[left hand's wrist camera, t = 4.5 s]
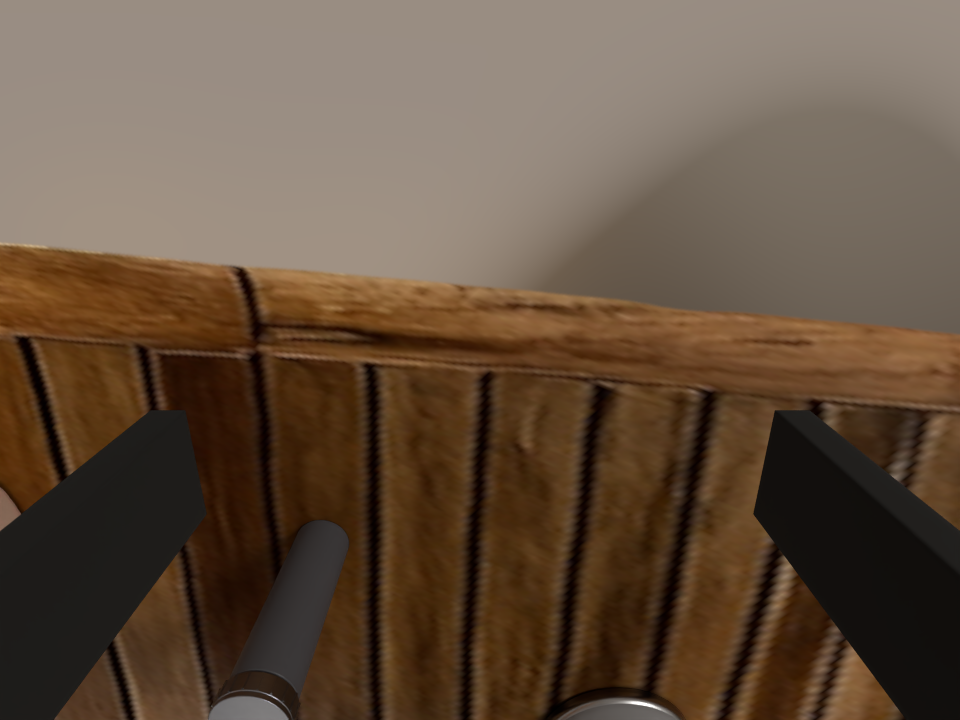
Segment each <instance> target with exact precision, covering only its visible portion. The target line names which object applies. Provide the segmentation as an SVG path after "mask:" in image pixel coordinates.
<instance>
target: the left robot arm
mask: <svg viewBox="0 0 960 720" xmlns="http://www.w3.org/2000/svg"><path fill="white" fill-rule="evenodd" d="M205 516H206V509H205V504H204V499H203V494H202V490H201V485H200V480H199V475H198V470H197V465H196V461H195V456H194V451H193V446H192V441H191V437H190V432H189V427H188V422H187V417H186V413H185V410H151V411H149V412H148V413H147V414H146V415H144V416H143V417H142V418H141V419H139V420H138V421H137V422H136V423H134V424H133V425H132V426H131V427H129V428H128V429H127V430H126V431H124V432H123V433H122V434H121V435H119V436H118V437H117V438H116V439H114V440H113V441H112V442H111V443H109V444H108V445H107V446H106V447H104V448H103V449H102V450H101V451H99V452H98V453H97V454H96V455H94V456H93V457H92V458H91V459H89V460H88V461H87V462H86V463H84V464H83V465H82V466H81V467H79V468H78V469H77V470H76V471H74V472H73V473H72V474H71V475H69V476H68V477H67V478H66V479H64V480H63V481H62V482H61V483H59V484H58V485H57V486H56V487H54V488H53V489H52V490H51V491H49V492H48V493H47V494H46V495H44V496H43V497H42V498H41V499H39V500H38V501H37V502H36V503H34V504H33V505H32V506H31V507H29V508H28V509H27V510H26V511H24V512H23V513H22V514H21V515H19V516H18V517H17V518H16V519H14V520H13V521H12V522H11V523H10V524H8V525H7V526H6V527H5V528H3V529H2V530H1V531H0V720H54V719H55V717H56V716H57V714H58V713H59V712H60V710H61V709H62V708H63V706H64V705H65V704H66V702H67V701H68V700H69V698H70V697H71V696H72V694H73V693H74V692H75V690H76V689H77V688H78V686H79V685H80V684H81V682H82V681H83V680H84V678H85V677H86V676H87V674H88V673H89V671H90V670H91V669H92V667H93V666H94V665H95V663H96V662H97V661H98V659H99V658H100V657H101V655H102V654H103V653H104V651H105V650H106V649H107V647H108V646H109V645H110V643H111V642H112V641H113V639H114V638H115V637H116V635H117V634H118V633H119V631H120V630H121V628H122V627H123V626H124V624H125V623H126V622H127V620H128V619H129V618H130V616H131V615H132V614H133V612H134V611H135V610H136V608H137V607H138V606H139V604H140V603H141V602H142V600H143V599H144V598H145V596H146V595H147V594H148V592H149V591H150V590H151V588H152V587H153V585H154V584H155V583H156V581H157V580H158V579H159V577H160V576H161V575H162V573H163V572H164V571H165V569H166V568H167V567H168V565H169V564H170V563H171V561H172V560H173V559H174V557H175V556H176V555H177V553H178V552H179V551H180V549H181V548H182V547H183V545H184V544H185V542H186V541H187V540H188V538H189V537H190V536H191V534H192V533H193V532H194V530H195V529H196V528H197V526H198V525H199V524H200V522H201V521H202V520H203V518H204V517H205ZM754 516H755V517H756V518H757V520H758V521H759V522H760V524H761V525H762V526H763V528H764V529H765V530H766V532H767V533H768V534H769V536H770V537H771V538H772V540H773V541H774V542H775V544H776V545H777V547H778V548H779V549H780V551H781V552H782V553H783V555H784V556H785V557H786V559H787V560H788V561H789V563H790V564H791V565H792V567H793V568H794V569H795V571H796V572H797V573H798V575H799V576H800V577H801V579H802V580H803V581H804V583H805V584H806V585H807V587H808V588H809V590H810V591H811V592H812V594H813V595H814V596H815V598H816V599H817V600H818V602H819V603H820V604H821V606H822V607H823V608H824V610H825V611H826V612H827V614H828V615H829V616H830V618H831V619H832V620H833V622H834V623H835V624H836V626H837V627H838V628H839V630H840V631H841V633H842V634H843V635H844V637H845V638H846V639H847V641H848V642H849V643H850V645H851V646H852V647H853V649H854V650H855V651H856V653H857V654H858V655H859V657H860V658H861V659H862V661H863V662H864V663H865V665H866V666H867V667H868V669H869V670H870V671H871V673H872V674H873V676H874V677H875V678H876V680H877V681H878V682H879V684H880V685H881V686H882V688H883V689H884V690H885V692H886V693H887V694H888V696H889V697H890V698H891V700H892V701H893V702H894V704H895V705H896V706H897V708H898V709H899V710H900V712H901V713H902V714H903V716H904V717H905V719H906V720H960V531H959V530H958V529H957V528H955V527H954V526H953V525H952V524H950V523H949V522H948V521H947V520H945V519H944V518H943V517H942V516H941V515H939V514H938V513H937V512H936V511H934V510H933V509H932V508H931V507H929V506H928V505H927V504H926V503H924V502H923V501H922V500H921V499H919V498H918V497H917V496H916V495H914V494H913V493H912V492H911V491H909V490H908V489H907V488H906V487H904V486H903V485H902V484H901V483H899V482H898V481H897V480H896V479H894V478H893V477H892V476H891V475H889V474H888V473H887V472H886V471H884V470H883V469H882V468H881V467H879V466H878V465H877V464H876V463H874V462H873V461H872V460H871V459H869V458H868V457H867V456H866V455H864V454H863V453H862V452H861V451H859V450H858V449H857V448H856V447H854V446H853V445H852V444H851V443H849V442H848V441H847V440H846V439H844V438H843V437H842V436H841V435H839V434H838V433H837V432H836V431H834V430H833V429H832V428H831V427H829V426H828V425H827V424H826V423H824V422H823V421H822V420H821V419H819V418H818V417H817V416H816V415H814V414H813V413H812V412H811V411H809V410H775V413H774V417H773V422H772V427H771V432H770V437H769V441H768V446H767V451H766V456H765V461H764V465H763V470H762V475H761V480H760V485H759V490H758V494H757V499H756V504H755V509H754ZM546 720H685V718H684V716H683V715H682V713H681V712H680V711H679V710H678V709H677V708H676V707H675V706H674V705H673V704H672V703H670V702H669V701H667V700H666V699H664V698H662V697H660V696H658V695H656V694H653V693H650V692H646V691H643V690H638V689H630V688H609V689H601V690H596V691H592V692H588V693H585V694H582V695H579V696H577V697H575V698H573V699H571V700H569V701H567V702H565V703H564V704H562V705H561V706H559V707H558V708H557V709H556V710H554V711H553V712H552V713H551V714H550V715H549V717H548V718H547V719H546Z"/></svg>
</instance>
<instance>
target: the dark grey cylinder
mask: <svg viewBox="0 0 960 720" xmlns="http://www.w3.org/2000/svg"><path fill="white" fill-rule="evenodd" d="M348 548H349V540H348V537H347V535H346V533H345V531H344V530H343V529H342V528H341V527H340V526H338V525H337V524H335V523H332V522H330V521H325V520H316V521H312V522H309V523H307V524H305V525H304V526H303V527H302V528H301V529H300V530H299V532H298V534H297V536H296V538H295V540H294V542H293V544H292V546H291V549H290V551H289V553H288V555H287V557H286V559H285V561H284V563H283V565H282V568H281V570H280V572H279V574H278V576H277V578H276V580H275V582H274V585H273V587H272V589H271V591H270V593H269V595H268V597H267V599H266V602H265V604H264V606H263V608H262V610H261V612H260V614H259V616H258V618H257V621H256V623H255V625H254V627H253V629H252V631H251V633H250V635H249V638H248V640H247V642H246V644H245V646H244V648H243V650H242V652H241V655H240V657H239V659H238V661H237V663H236V665H235V667H234V669H233V671H232V674H231V676H230V678H231V677H233V676H235V674H240V673H243V672H249V671H260V672H266V673H270V674H273V675H276V676H278V677H280V678H282V679H284V680H285V681H286V682H288V683H289V684H290V685H291V686H292V687H293V688H294V690H295V691H296V693H298V694H297V695H298V698H299V697H300V694H301V691H302V688H303V685H304V682H305V679H306V676H307V673H308V670H309V667H310V664H311V661H312V658H313V655H314V652H315V649H316V645H317V642H318V639H319V636H320V633H321V630H322V627H323V624H324V621H325V618H326V615H327V612H328V609H329V606H330V603H331V600H332V597H333V594H334V591H335V588H336V584H337V581H338V578H339V575H340V572H341V569H342V566H343V563H344V560H345V557H346V554H347V551H348ZM230 678H229V679H230Z"/></svg>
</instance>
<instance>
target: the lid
mask: <svg viewBox="0 0 960 720" xmlns="http://www.w3.org/2000/svg"><path fill="white" fill-rule="evenodd" d="M297 694H298V693H296V691H295V690H294V688H293V687H292V686H291V685H290V684H289V683H288V682H286V681H285V680H284V679H282V678H280V677H278V676H276V675H273V674H270V673H266V672H260V671H249V672H243V673H240V674H235V676H233V677H231V678H230V679H228V680H226V681H225V682H224V684H223V686H222V688H221V689H219V691H218V693H217V695H216V697H215V699H214V701H213V704H212V706H211V707H212V709H211V711H210V713H209V717H208V720H297V717H298V713H299V712H298V710H299V707H300V703H299V698H298V695H297Z"/></svg>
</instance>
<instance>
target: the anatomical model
mask: <svg viewBox="0 0 960 720" xmlns="http://www.w3.org/2000/svg"><path fill="white" fill-rule="evenodd" d="M19 515H21V513H20V512H19V510H18V508H17V507H16V505H15V504H14V502H13V501H12V500H11V498H10V497H9V496H8V495H7V493H6V492H5V491H4V490H3V489H2V488H1V487H0V531H1V530H2V529H3V528H5V527H6V526H7V525H8V524H10V523H11V522H12V521H13V520H14V519H16V518H17V517H18V516H19Z"/></svg>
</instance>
